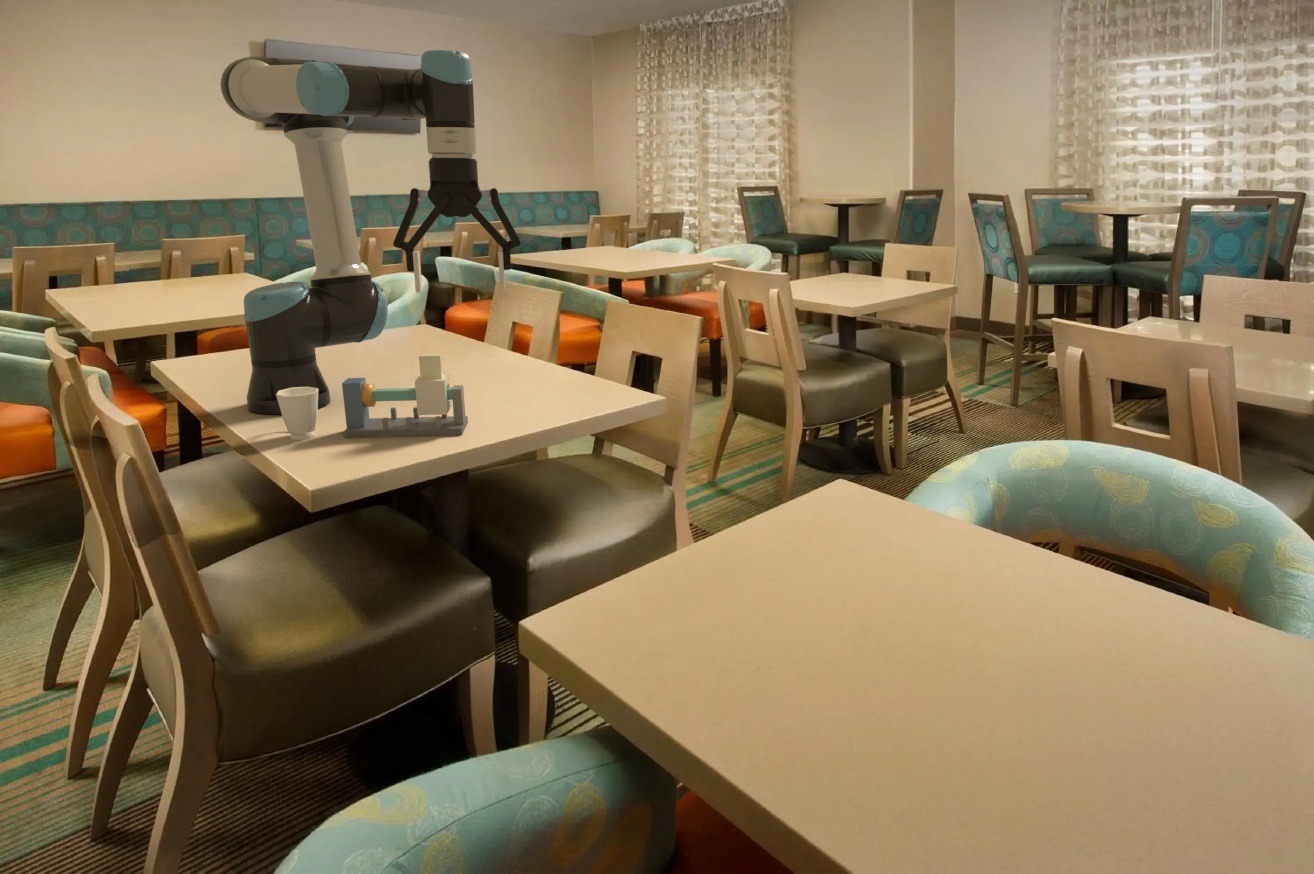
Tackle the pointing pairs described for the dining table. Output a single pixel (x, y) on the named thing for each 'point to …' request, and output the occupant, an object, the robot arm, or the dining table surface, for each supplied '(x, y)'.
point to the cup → (299, 411)
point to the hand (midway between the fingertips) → (461, 291)
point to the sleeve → (432, 386)
